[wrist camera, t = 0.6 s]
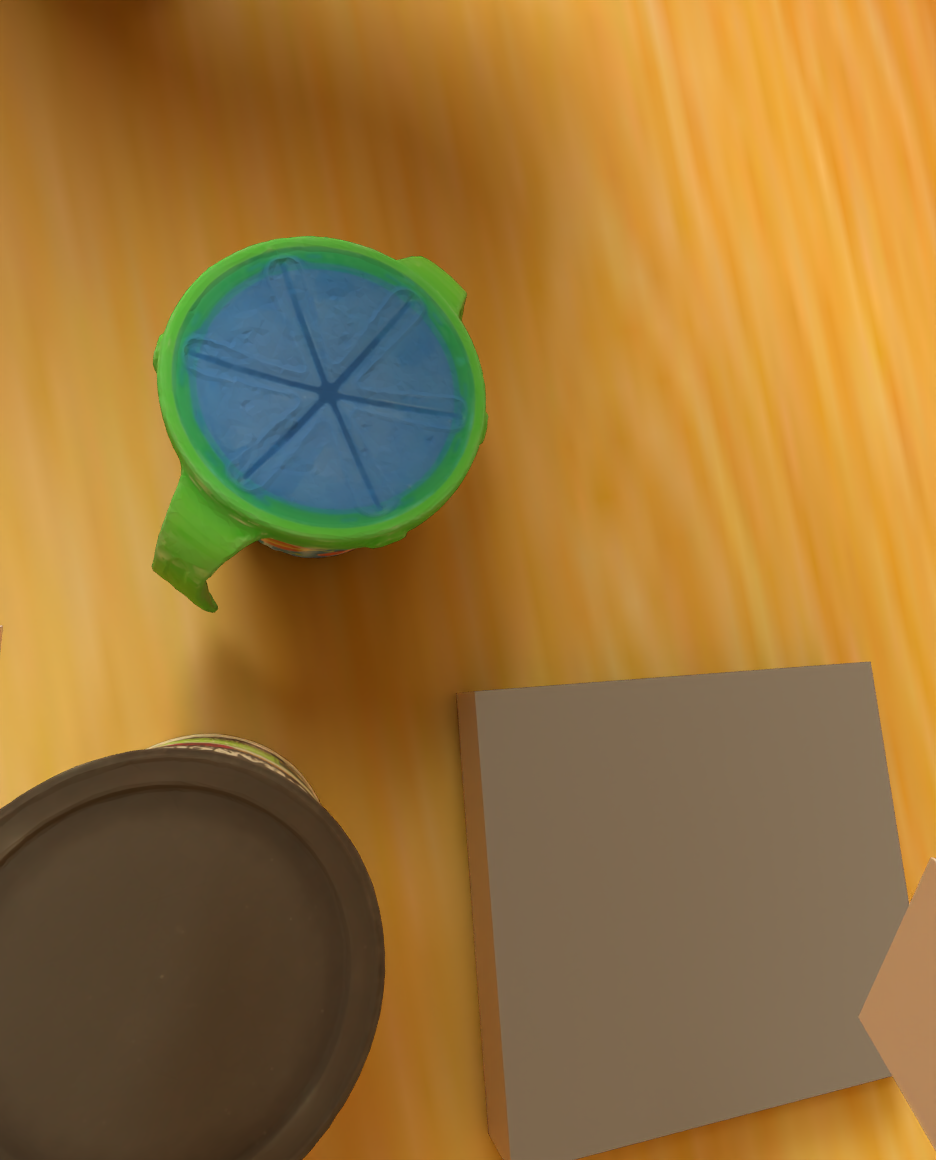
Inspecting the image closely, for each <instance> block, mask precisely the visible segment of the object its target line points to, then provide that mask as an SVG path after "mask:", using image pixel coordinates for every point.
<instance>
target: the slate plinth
mask: <svg viewBox="0 0 936 1160" xmlns="http://www.w3.org/2000/svg"><path fill="white" fill-rule="evenodd" d="M456 696H457V710H458V724H459V737H460V751H461V765H462V778H463V792H464V806H465V819H466V833H467V847H468V860H469V874H470V888H471V901H472V915H473V929H474V943H475V956H476V970H477V984H478V997H479V1011H480V1025H481V1038H482V1052H483V1066H484V1079H485V1093H486V1107H487V1120H488V1134H489V1136H490V1137H491V1139H492V1141H493V1143H494V1145H495V1146H496V1148H497V1150H498V1152H499V1154H500V1156H501V1157H502V1159H503V1160H575V1159H579V1158H583V1157H586V1156H590V1155H594V1154H598V1153H602V1152H605V1151H609V1150H613V1149H617V1148H621V1147H624V1146H628V1145H632V1144H636V1143H640V1142H643V1141H647V1140H651V1139H655V1138H659V1137H662V1136H666V1135H670V1134H674V1133H678V1132H681V1131H685V1130H689V1129H693V1128H697V1127H700V1126H704V1125H708V1124H712V1123H716V1122H719V1121H723V1120H727V1119H731V1118H734V1117H738V1116H742V1115H746V1114H750V1113H753V1112H757V1111H761V1110H765V1109H769V1108H772V1107H776V1106H780V1105H784V1104H788V1103H791V1102H795V1101H799V1100H803V1099H807V1098H810V1097H814V1096H818V1095H822V1094H826V1093H829V1092H833V1091H837V1090H841V1089H845V1088H848V1087H852V1086H856V1085H860V1084H864V1083H867V1082H871V1081H875V1080H879V1079H883V1078H886V1077H890V1076H892V1075H891V1073H890V1071H889V1069H888V1068H887V1066H886V1064H885V1063H884V1061H883V1059H882V1057H881V1056H880V1054H879V1052H878V1050H877V1049H876V1047H875V1045H874V1043H873V1042H872V1040H871V1038H870V1037H869V1035H868V1033H867V1031H866V1030H865V1028H864V1026H863V1024H862V1023H861V1021H860V1019H859V1018H858V1017H859V1014H860V1012H861V1010H862V1008H863V1006H864V1003H865V1001H866V999H867V997H868V995H869V992H870V990H871V988H872V986H873V984H874V981H875V979H876V977H877V975H878V973H879V970H880V968H881V966H882V964H883V962H884V959H885V957H886V955H887V953H888V951H889V948H890V946H891V944H892V942H893V940H894V937H895V935H896V933H897V931H898V929H899V926H900V924H901V922H902V920H903V917H904V915H905V913H906V911H907V909H908V906H909V901H908V895H907V888H906V882H905V876H904V869H903V863H902V857H901V850H900V844H899V838H898V831H897V825H896V819H895V812H894V806H893V800H892V793H891V787H890V781H889V774H888V768H887V762H886V756H885V749H884V743H883V737H882V730H881V724H880V718H879V711H878V705H877V699H876V692H875V686H874V680H873V673H872V667H871V662H859V663H845V664H832V665H819V666H805V667H792V668H779V669H765V670H752V671H739V672H725V673H712V674H699V675H685V676H672V677H659V678H645V679H632V680H619V681H605V682H592V683H579V684H565V685H552V686H539V687H525V688H512V689H499V690H485V691H473V692H463V693H456Z"/></svg>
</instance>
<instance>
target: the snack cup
mask: <svg viewBox="0 0 936 1160" xmlns="http://www.w3.org/2000/svg"><path fill="white" fill-rule="evenodd" d="M466 296H467V293H466V291H465V290H464V289H463V288H462V287H461V286H460V285H459V284H458V283H457V282H456V281H455V280H454V279H453V278H452V277H451V276H450V275H448V274H447V273H446V272H445V271H444V270H442V269H441V268H440V267H439V266H437V265H436V264H434V263H433V262H431V261H430V260H428V259H427V258H424V257H422V256H419V257H418V256H417V257H414V256H411V257H407V258H404V259H400V260H395V259H393V258H391V257H389V256H387V255H384V254H383V253H381V252H379V251H376V250H374V249H372V248H369V247H365V246H362V245H359V244H356V243H352V242H348V241H344V240H340V239H333V238H328V237H315V236H302V237H291V238H281V239H274V240H270V241H267V242H262V243H258V244H255V245H252V246H249V247H246V248H244V249H242V250H240V251H237V252H235V253H233V254H232V255H230V256H228V257H226V258H224V259H222V260H221V261H219V262H218V263H216V264H214V265H213V266H211V267H209V268H208V269H207V270H206V271H205V272H204V273H202V275H201V276H200V277H199V278H198V279H197V280H196V281H195V282H194V283H193V284H192V285H191V286H190V287H189V288H188V290H187V291H186V292H185V294H184V295H183V297H182V298H181V300H180V301H179V303H178V304H177V306H176V307H175V309H174V311H173V313H172V315H171V317H170V319H169V321H168V324H167V326H166V329H165V331H164V333H163V334H162V335H160V336H159V339H158V342H157V346H156V349H155V351H154V356H153V366H154V369H155V371H156V373H157V386H158V396H159V402H160V407H161V412H162V416H163V420H164V423H165V427H166V430H167V433H168V436H169V438H170V441H171V443H172V446H173V448H174V450H175V452H176V453H177V455H178V457H179V459H180V462H181V477H180V480H179V483H178V486H177V488H176V491H175V493H174V495H173V497H172V500H171V503H170V506H169V508H168V511H167V514H166V517H165V520H164V522H163V524H162V528H161V531H160V533H159V536H158V541H157V545H156V549H155V555H154V560H153V564H152V569H153V571H154V572H156V573H157V574H158V575H159V576H161V577H162V578H163V579H164V580H166V581H168V582H169V583H170V584H171V585H172V586H174V588H175V589H176V590H178V591H179V592H181V593H182V594H184V595H185V596H186V597H187V598H188V599H189V600H191V601H192V602H193V603H194V604H195V605H197V606H199V607H200V608H201V609H203V610H205V611H208V612H212V613H213V612H216V611H217V610H218V606H217V604H216V602H215V601H214V599H213V597H212V595H211V594H210V593H209V590H208V586H207V583H206V580H207V579H208V578H209V577H211V576H212V574H213V573H214V572H215V571H216V570H217V569H218V568H219V567H220V566H221V565H222V564H223V563H225V562H226V561H227V560H229V559H230V558H231V557H233V556H234V555H235V554H237V553H238V552H239V551H241V550H242V549H243V548H245V547H246V546H248V545H250V544H251V543H253V542H255V541H259V542H261V543H262V544H264V545H266V546H269V547H270V548H271V549H273V550H276V551H282V552H284V553H287V554H290V555H293V556H297V557H303V558H311V557H313V558H321V557H328V556H336V555H339V554H342V553H345V552H349V551H351V550H354V549H356V548H361V547H368V548H378V547H383V546H386V545H388V544H391V543H394V542H396V541H399V540H401V539H403V538H404V537H406V534H407V532H408V531H410V530H412V529H413V528H415V527H417V526H418V525H420V524H421V523H423V522H424V521H425V520H427V519H428V518H429V517H431V516H432V515H433V514H434V513H435V512H437V511H438V510H439V509H440V508H441V507H442V506H443V505H444V504H445V503H446V502H447V500H448V499H449V498H450V497H451V496H452V495H453V493H454V492H455V491H456V490H457V489H458V487H459V486H460V484H461V483H462V481H463V479H464V478H465V476H466V474H467V472H468V471H469V469H470V467H471V465H472V463H473V460H474V458H475V456H476V454H477V451H478V448H479V445H480V444H481V443H482V442H483V441H484V437H485V434H486V430H487V420H488V414H487V413H486V393H485V383H484V379H483V373H482V369H481V365H480V361H479V358H478V355H477V352H476V350H475V348H474V345H473V342H472V340H471V338H470V336H469V334H468V332H467V330H466V328H465V326H464V325H463V323H462V315H463V309H464V304H465V300H466Z"/></svg>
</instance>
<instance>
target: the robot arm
mask: <svg viewBox="0 0 936 1160" xmlns="http://www.w3.org/2000/svg"><path fill="white" fill-rule="evenodd" d="M2 631H3V626H1V625H0V650H1V640H2ZM858 1018H859V1019H860V1021H861V1023H862V1024H863V1026H864V1028H865V1030H866V1031H867V1033H868V1035H869V1037H870V1038H871V1040H872V1042H873V1043H874V1045H875V1047H876V1049H877V1050H878V1052H879V1054H880V1056H881V1057H882V1059H883V1061H884V1063H885V1064H886V1066H887V1068H888V1069H889V1071H890V1073H891V1075H892V1076H893V1078H894V1080H895V1082H896V1083H897V1085H898V1087H899V1088H900V1090H901V1092H902V1094H903V1095H904V1097H905V1099H906V1101H907V1102H908V1104H909V1106H910V1108H911V1109H912V1111H913V1113H914V1114H915V1116H916V1118H917V1120H918V1121H919V1123H920V1125H921V1127H922V1128H923V1130H924V1132H925V1133H926V1135H927V1137H928V1139H929V1140H930V1142H931V1144H932V1146H933V1147H934V1149H935V1151H936V858H932V857H931V858H930V860H929V862H928V865H927V867H926V869H925V871H924V873H923V876H922V878H921V880H920V882H919V884H918V887H917V889H916V891H915V893H914V895H913V898H912V900H911V902H910V904H909V906H908V909H907V911H906V913H905V915H904V917H903V920H902V922H901V924H900V926H899V929H898V931H897V933H896V935H895V937H894V940H893V942H892V944H891V946H890V948H889V951H888V953H887V955H886V957H885V959H884V962H883V964H882V966H881V968H880V970H879V973H878V975H877V977H876V979H875V981H874V984H873V986H872V988H871V990H870V992H869V995H868V997H867V999H866V1001H865V1003H864V1006H863V1008H862V1010H861V1012H860V1014H859V1017H858Z"/></svg>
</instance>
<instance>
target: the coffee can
mask: <svg viewBox="0 0 936 1160" xmlns="http://www.w3.org/2000/svg"><path fill="white" fill-rule="evenodd" d="M384 978H385V949H384V936H383V928H382V922H381V916H380V911H379V906H378V903H377V899H376V895H375V891H374V887H373V884H372V882H371V879H370V877H369V875H368V872H367V870H366V868H365V866H364V863H363V861H362V859H361V857H360V855H359V853H358V851H357V850H356V848H355V847H354V845H353V844H352V842H351V840H350V839H349V838H348V836H347V835H346V833H345V832H344V831H343V829H342V828H341V826H340V825H339V824H338V823H337V822H336V821H335V820H334V818H333V817H332V816H331V815H330V814H329V813H328V812H327V810H326V809H324V808H323V807H322V806H321V804H320V802H319V800H318V798H317V796H316V794H315V792H314V791H313V789H312V787H311V786H310V784H309V783H308V782H307V780H306V779H305V778H304V776H303V775H302V774H301V773H300V772H299V771H298V770H297V769H296V768H295V767H294V766H293V765H292V764H291V763H290V762H288V761H287V760H286V759H285V758H283V757H282V756H280V755H279V754H278V753H276V752H274V751H272V750H271V749H269V748H267V747H265V746H263V745H260V744H258V743H255V742H253V741H250V740H247V739H243V738H239V737H235V736H228V735H222V734H197V735H189V736H184V737H179V738H175V739H171V740H168V741H165V742H162V743H159V744H156V745H154V746H151V747H149V748H147V749H144V750H136V751H130V752H125V753H121V754H116V755H111V756H108V757H104V758H101V759H97V760H94V761H91V762H88V763H85V764H82V765H79V766H76V767H74V768H71V769H69V770H67V771H65V772H62V773H60V774H58V775H56V776H54V777H52V778H50V779H48V780H46V781H45V782H43V783H41V784H39V785H37V786H36V787H34V788H32V789H30V790H29V791H27V792H25V793H24V794H22V795H20V796H19V797H17V798H16V799H15V800H13V801H12V802H10V803H9V804H7V805H6V806H4V807H3V808H1V809H0V1160H302V1159H303V1158H304V1157H305V1156H306V1155H307V1154H308V1153H309V1152H310V1151H311V1150H312V1148H313V1147H314V1146H315V1144H316V1143H317V1142H318V1141H319V1139H320V1138H321V1137H322V1136H323V1134H324V1133H325V1132H326V1131H327V1129H328V1128H329V1127H330V1125H331V1124H332V1122H333V1120H334V1118H335V1117H336V1115H337V1114H338V1112H339V1111H340V1110H341V1108H342V1107H343V1105H344V1104H345V1102H346V1100H347V1098H348V1096H349V1095H350V1093H351V1091H352V1089H353V1087H354V1085H355V1083H356V1081H357V1079H358V1077H359V1075H360V1073H361V1071H362V1068H363V1066H364V1063H365V1061H366V1058H367V1056H368V1053H369V1051H370V1048H371V1045H372V1042H373V1038H374V1035H375V1032H376V1028H377V1024H378V1020H379V1016H380V1012H381V1005H382V998H383V990H384Z"/></svg>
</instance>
